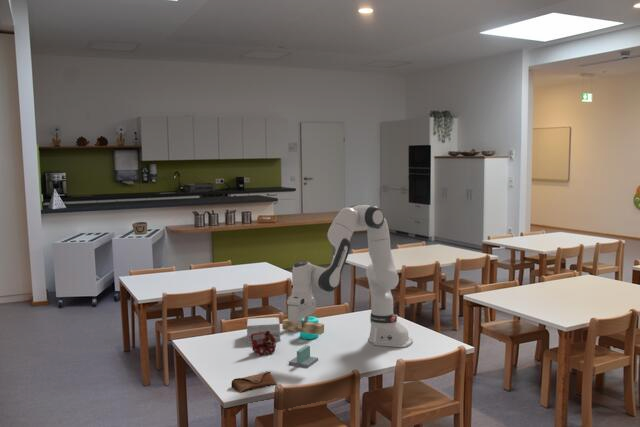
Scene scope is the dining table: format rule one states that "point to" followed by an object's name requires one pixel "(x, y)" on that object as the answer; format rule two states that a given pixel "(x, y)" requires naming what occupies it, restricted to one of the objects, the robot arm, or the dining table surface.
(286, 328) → the oak bar
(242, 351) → the dining table surface
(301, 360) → the fulcrum
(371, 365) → the dining table surface
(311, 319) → the donuts
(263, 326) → the supplement box
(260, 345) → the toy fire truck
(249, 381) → the sunglasses case
